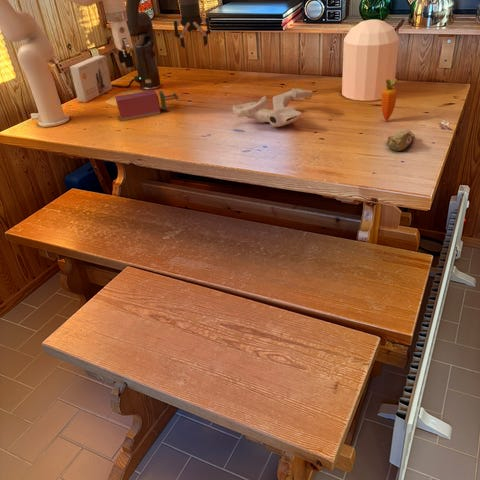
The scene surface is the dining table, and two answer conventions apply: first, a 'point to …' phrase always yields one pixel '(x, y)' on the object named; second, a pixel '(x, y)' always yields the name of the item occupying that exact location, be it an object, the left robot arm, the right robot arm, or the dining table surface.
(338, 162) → the dining table surface
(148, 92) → the cabinet
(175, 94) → the drawer
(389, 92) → the carrot
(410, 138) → the rock
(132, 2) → the right robot arm
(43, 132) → the dining table surface
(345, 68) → the container
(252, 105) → the beige irregular branched piece
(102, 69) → the skincare box
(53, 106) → the left robot arm
